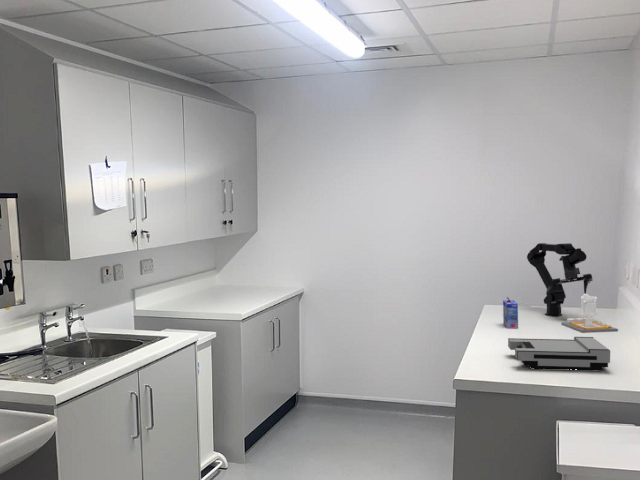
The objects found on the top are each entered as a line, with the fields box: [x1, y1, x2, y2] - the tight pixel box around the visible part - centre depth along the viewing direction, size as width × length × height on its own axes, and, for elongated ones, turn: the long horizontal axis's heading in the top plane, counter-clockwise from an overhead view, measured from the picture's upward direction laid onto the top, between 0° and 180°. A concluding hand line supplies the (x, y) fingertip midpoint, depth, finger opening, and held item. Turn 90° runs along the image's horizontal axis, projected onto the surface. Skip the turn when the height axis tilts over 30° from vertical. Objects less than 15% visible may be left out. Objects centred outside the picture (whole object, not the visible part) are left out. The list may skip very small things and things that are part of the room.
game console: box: [507, 336, 611, 371], centre depth 223 cm, size 21×32×8 cm, turn 81°
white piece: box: [580, 293, 598, 326], centre depth 279 cm, size 7×7×15 cm
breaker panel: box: [561, 317, 619, 334], centre depth 281 cm, size 18×18×3 cm
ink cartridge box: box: [502, 296, 519, 329], centre depth 286 cm, size 10×6×14 cm, turn 174°
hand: (575, 296), depth 293 cm, fingers open, 9 cm apart
